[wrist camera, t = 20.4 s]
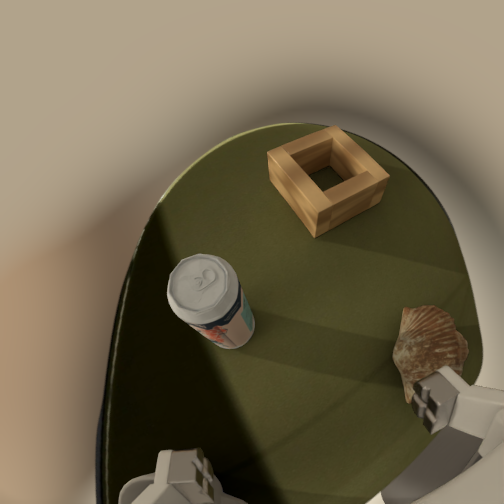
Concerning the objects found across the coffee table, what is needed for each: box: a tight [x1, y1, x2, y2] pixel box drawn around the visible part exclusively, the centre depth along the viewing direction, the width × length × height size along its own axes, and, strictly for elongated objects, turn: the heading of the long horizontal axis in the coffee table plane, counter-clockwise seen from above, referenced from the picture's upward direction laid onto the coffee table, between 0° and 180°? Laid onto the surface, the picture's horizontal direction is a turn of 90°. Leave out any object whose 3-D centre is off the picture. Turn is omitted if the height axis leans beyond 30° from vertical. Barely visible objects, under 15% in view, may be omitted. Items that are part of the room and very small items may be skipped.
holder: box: [267, 125, 390, 238], centre depth 32 cm, size 10×10×5 cm
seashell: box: [392, 305, 469, 403], centre depth 21 cm, size 9×7×8 cm
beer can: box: [167, 254, 255, 349], centre depth 23 cm, size 5×5×12 cm
